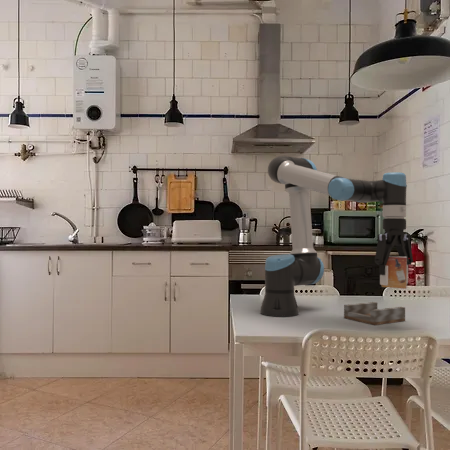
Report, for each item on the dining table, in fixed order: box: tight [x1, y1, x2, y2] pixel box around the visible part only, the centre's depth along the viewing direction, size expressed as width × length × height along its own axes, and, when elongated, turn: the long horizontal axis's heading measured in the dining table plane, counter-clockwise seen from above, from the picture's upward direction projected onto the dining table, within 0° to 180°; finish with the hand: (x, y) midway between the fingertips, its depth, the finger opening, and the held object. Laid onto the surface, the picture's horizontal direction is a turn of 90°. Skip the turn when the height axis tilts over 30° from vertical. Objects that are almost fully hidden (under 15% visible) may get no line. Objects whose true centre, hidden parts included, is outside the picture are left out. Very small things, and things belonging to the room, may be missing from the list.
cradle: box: [343, 301, 406, 326], centre depth 169 cm, size 16×15×5 cm
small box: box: [381, 255, 408, 290], centre depth 153 cm, size 8×6×10 cm
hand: (394, 284), depth 153 cm, fingers closed on small box, 9 cm apart
